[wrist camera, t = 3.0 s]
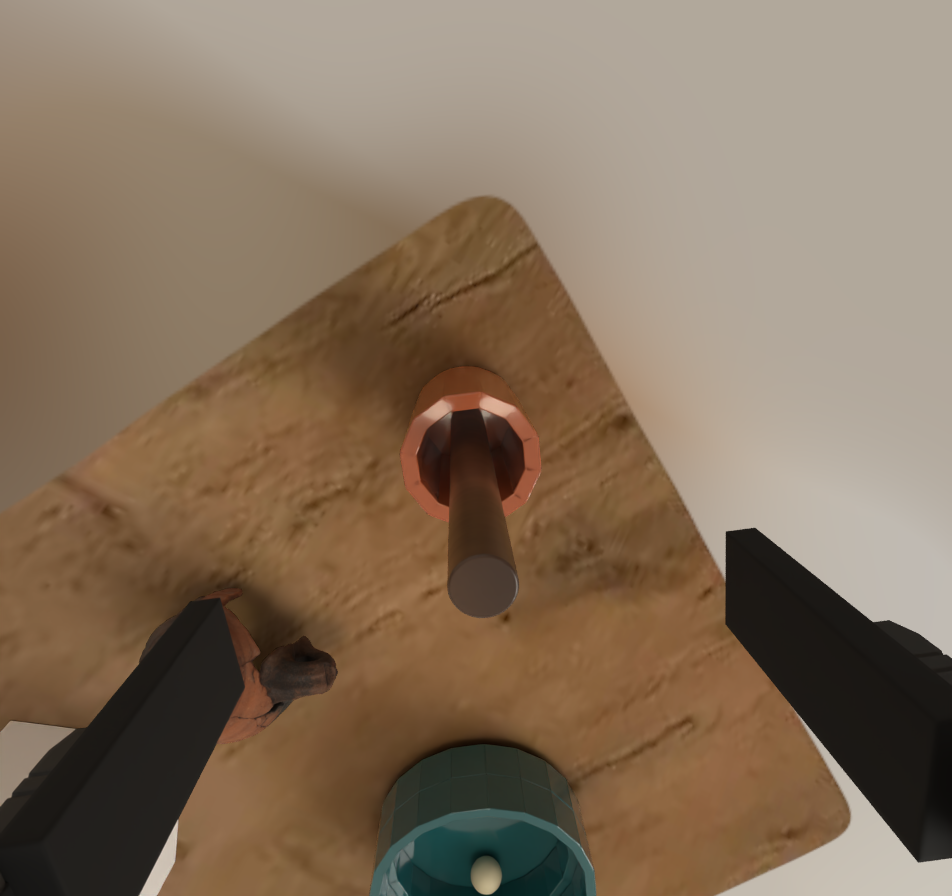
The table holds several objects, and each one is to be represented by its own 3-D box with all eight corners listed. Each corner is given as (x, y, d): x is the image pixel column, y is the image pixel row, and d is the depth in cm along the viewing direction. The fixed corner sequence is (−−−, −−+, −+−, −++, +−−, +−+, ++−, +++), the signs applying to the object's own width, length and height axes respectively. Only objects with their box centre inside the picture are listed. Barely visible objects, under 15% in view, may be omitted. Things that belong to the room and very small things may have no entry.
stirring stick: (481, 402, 35) (515, 550, 16) (485, 434, 35) (522, 614, 16) (448, 407, 35) (442, 560, 16) (453, 438, 35) (452, 623, 16)
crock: (514, 359, 35) (533, 384, 26) (524, 461, 36) (546, 517, 28) (406, 372, 35) (390, 402, 26) (422, 474, 36) (412, 534, 28)
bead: (498, 846, 45) (501, 876, 42) (502, 868, 45) (504, 900, 43) (468, 850, 45) (469, 881, 42) (472, 872, 45) (473, 904, 43)
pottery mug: (224, 719, 42) (124, 764, 34) (219, 588, 43) (123, 601, 35) (371, 715, 38) (298, 763, 30) (360, 572, 40) (288, 583, 32)
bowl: (570, 726, 42) (588, 795, 37) (583, 879, 47) (602, 962, 41) (365, 752, 42) (350, 826, 37) (397, 902, 47) (389, 990, 41)
